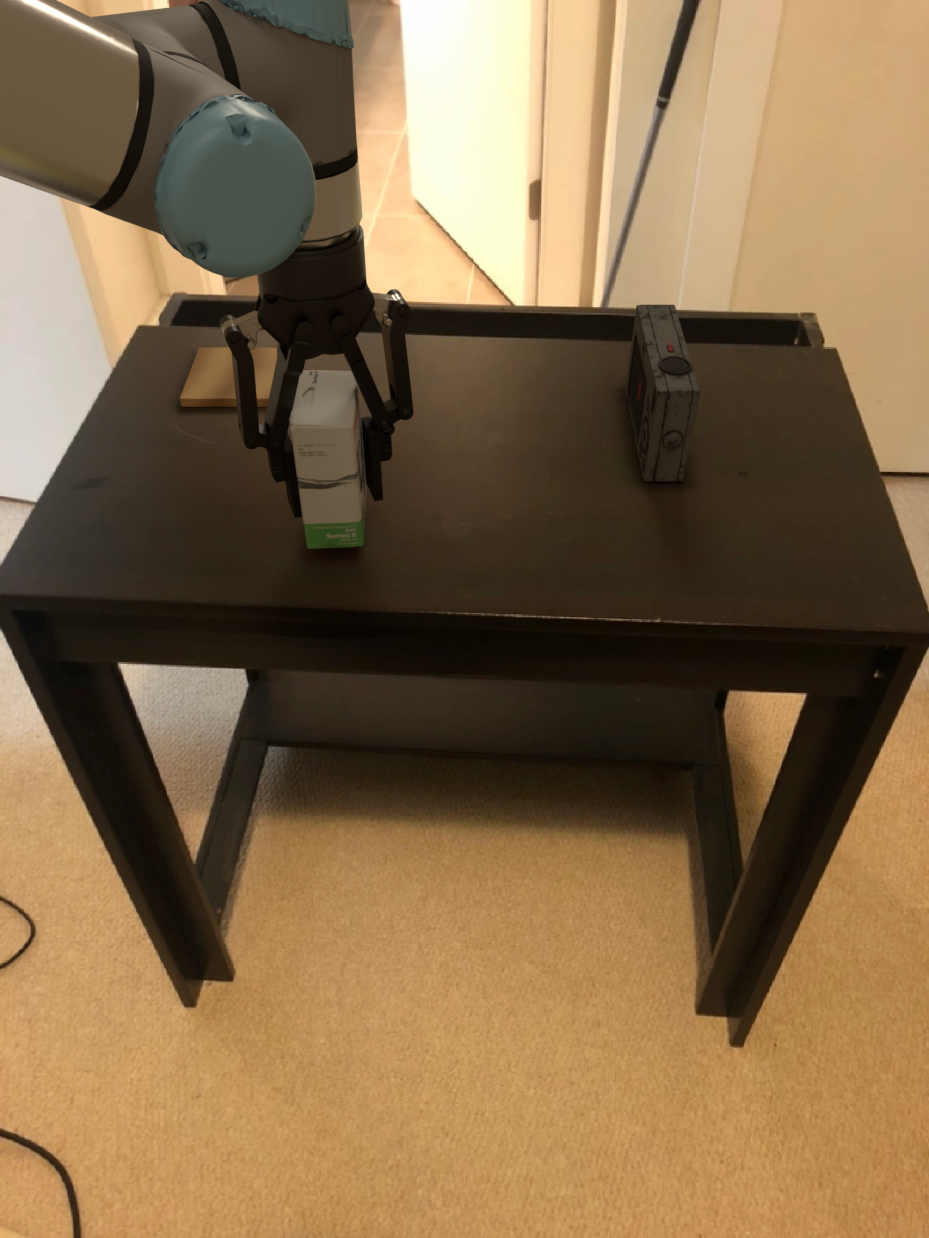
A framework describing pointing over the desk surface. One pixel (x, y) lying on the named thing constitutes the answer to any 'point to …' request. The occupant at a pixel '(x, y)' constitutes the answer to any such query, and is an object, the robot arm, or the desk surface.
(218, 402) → the cork mat
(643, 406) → the camera
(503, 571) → the desk surface
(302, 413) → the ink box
